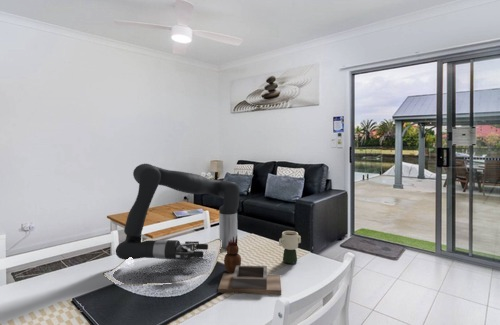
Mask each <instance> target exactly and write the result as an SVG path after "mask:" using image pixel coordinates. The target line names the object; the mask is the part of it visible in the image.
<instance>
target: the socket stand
mask: <svg viewBox="0 0 500 325" xmlns="http://www.w3.org/2000/svg"><path fill="white" fill-rule="evenodd" d="M281 281H282V280H281V274H268V267H267V266H266V265H241V266H239V265H236V268H235V271H234V273H229V272H228V273H226V272H224V273H222V276H221V280H220V282H219V285H218V288H217V290H218V291H217V293H218V292H221V293H222V294H252V295H277V296H278V295H279V296H280V295H281V296H282V282H281ZM221 293H220V294H221Z"/></svg>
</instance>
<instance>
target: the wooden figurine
mask: <svg viewBox="0 0 500 325" xmlns="http://www.w3.org/2000/svg"><path fill="white" fill-rule="evenodd" d="M239 250H240V249H239V245H238V235H237V236H236V240H235V242H234V237H233V241H232V240H230V241H229V242H228V246H227V248H226V253H225V255H224V258H223V259H224V260H223V265H224V268H225V271H226V272H228V273H233V274H234V271H235V268H236V265H239V266H242V265H241V264H242V257H241V255H240V254H239Z"/></svg>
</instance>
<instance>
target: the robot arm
mask: <svg viewBox="0 0 500 325" xmlns="http://www.w3.org/2000/svg"><path fill="white" fill-rule="evenodd" d="M132 173H133V174H132V175H133V178H134V180H135V181H136V182H137V184H138V191H137V192H138V193H137V195H136V198H135V201H134V202H133V204H132V206H131V208H130V209H129V212H128V215H127V216H126V217H127V218H126V222H125V226H124V230H123V231H124V234H125V239H124V241H122V242H121V243H119V244H117V246H116V248H115V254H116V256H117V258H119V259H121V260H126V259H128V258H129V257H132V258H133V259H132V260H137V259H158V260H160V259H161V260H183V261H185V260H186V261H190V260H192V259H193V258H203V257H204V251H202V250H208V249H209V244H207V243H200V241H184V243H183V244H182V243H181V242H180V240H178V239H177V240H176V239H160V240H144V241H142V235H143V234H142V232H143V230H144V225H145V222H146V218H147V214H148V211H149V208H150V205H151V203H152V200H153V198H154V196H155V194H156V191H157V189H158V186H163V187H167V188H169V189H172V190H175V191H177V192H180V193H185V194H192V195H212V196H215V197H217V198H221V199H223V205H221V206H220V207H219V209H218V216H219V219H218V220H219V221H218V222H219V224H218V225H219V228H218V230H219V234H218V235H219V238H218V239H221V240H222V249H227V246H228V242H229V241H230V240H232V241H233V237H234V242H235V240H236V236H237V237H238V209H239V206H240V187H239V185H238V183H237V182H234V181H230V180H229V181H228V180H218V179H210V178H207V177H205V176H203V175H199V174H197V173H193V172H192V173H190V172H185V171H178V170H170V169H165V168H162V167H158V166H155V165H152V164H149V163H142V164H139V165H137V166H136V167H135V168H134V170H133V172H132ZM200 250H201V251H200Z"/></svg>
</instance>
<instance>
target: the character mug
mask: <svg viewBox="0 0 500 325" xmlns="http://www.w3.org/2000/svg"><path fill="white" fill-rule="evenodd" d="M301 238H302V237H301V235H299V233H298V232H297V231H294V230H284V231H282V233H281V237H280V238H279V240H278V246H280V247H282V248H283V249H284V250H283V256H282V262H285V263H287V264H291V265H293V264H296V263H297V262H298V257H297V249H298V248H299V244H301V243H302V239H301Z"/></svg>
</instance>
